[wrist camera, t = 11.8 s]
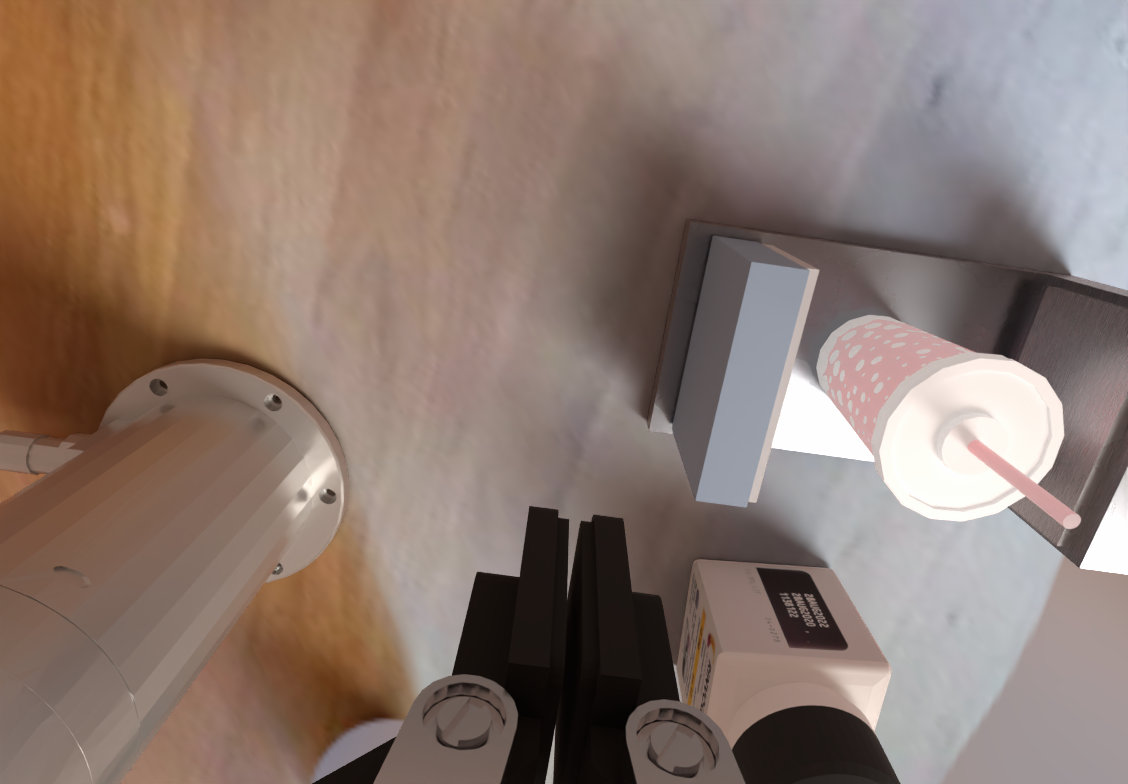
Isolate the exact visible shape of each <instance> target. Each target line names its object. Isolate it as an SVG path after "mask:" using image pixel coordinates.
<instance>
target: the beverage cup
mask: <svg viewBox="0 0 1128 784" xmlns="http://www.w3.org/2000/svg"><path fill="white" fill-rule="evenodd" d="M816 369H817V374H818V379H819V384H820V386H821V387H822V389H823V390H824V391H825V393H826V394H827V395H828V397H829V398H830V399H831V401H832V402H833V403H834V405H835V406H836V407H837V409H838V410H839V411H840V413H841V414H842V415H843V417H844V418H845V419H846V420H847V422H848V423H849V424H850V426H851V427H852V428H853V430H854V431H855V432H856V434H857V435H858V436H859V438H860V439H861V440H862V442H863V443H864V444H865V446H866V447H867V448H868V450H869V451H870V452H871V454H872V455H873V457H874V463H875V469H876V471H877V473H878V474H879V475H880V477H881V478H882V480H883V481H884V482H885V484H886V485H887V486H888V487H889V489H890V490H891V491H892V493H893V494H894V495H895V497H896V498H897V499H898V501H899V502H900V503H901V504H902V505H904V506H906V507H908V508H910V509H912V510H913V511H915V512H917V513H919V514H921V515H923V516H925V517H927V518H929V519H939V520H951V521H962V522H963V521H967V520H971V519H975V518H979V517H983V516H988V515H992V514H996V513H998V512H1000V511H1002V510H1003V509H1005V508H1007V507H1008V506H1010V505H1012V504H1013V503H1015V502H1017V501H1018V500H1020V499H1022V498H1023V497H1025V496H1026V497H1027V498H1028V499H1030V500H1031V501H1032V502H1033V503H1035V504H1036V505H1037V506H1039V507H1040V508H1041V509H1042V510H1044V511H1045V512H1046V513H1047V514H1049V515H1050V516H1051V517H1052V518H1054V519H1055V520H1056V521H1057V522H1059V523H1060V524H1061V525H1062V526H1064V527H1065V528H1067V529H1073V528H1075V527H1077V526H1078V525H1079V524H1080V522H1081V517H1080V516H1079V515H1078V514H1077V513H1075V512H1074V511H1073V510H1071V509H1070V508H1069V507H1067V506H1066V505H1065V504H1063V503H1062V502H1061V501H1059V500H1058V499H1056V498H1055V497H1054V496H1052V495H1051V494H1050V493H1048V492H1047V491H1046V490H1044V489H1043V488H1042V487H1040V486H1039V485H1038V483H1039V482H1040V481H1041V480H1042V478H1043V477H1044V476H1045V475H1046V474H1047V473H1048V472H1049V470H1050V469H1051V468H1052V467H1053V464H1054V461H1055V459H1056V456H1057V454H1058V451H1059V448H1060V446H1061V443H1062V440H1063V438H1064V423H1063V409H1062V403H1061V401H1060V400H1059V398H1058V397H1057V395H1056V393H1055V392H1054V390H1053V389H1052V387H1051V386H1050V384H1049V382H1048V381H1047V379H1046V378H1045V377H1043V376H1042V375H1040V374H1038V373H1036V372H1034V371H1033V370H1031V369H1029V368H1027V367H1026V366H1024V365H1022V364H1020V363H1018V362H1017V361H1015V360H1013V359H1008V358H1006V357H1004V356H1003V355H995V354H984V353H976V352H974V351H971V350H969V349H966V348H964V347H961V346H959V345H956V344H954V343H952V342H949V341H947V340H944V339H942V338H939V337H937V336H934V335H932V334H930V333H927V332H925V331H922V330H920V329H917V328H915V327H913V326H910V325H908V324H905V323H903V322H900V321H898V320H895V319H893V318H891V317H887V316H876V315H866V316H863V317H859V318H856V319H852V320H849V321H847V322H846V323H845V324H843V325H842V326H840V327H839V328H838V329H836V330H835V331H834V332H832V333H831V335H830V336H829V338H828V339H827V341H826V342H825V343H824V345H823V346H822V348H821V349H820V354H819V358H818V362H817V367H816Z"/></svg>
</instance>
